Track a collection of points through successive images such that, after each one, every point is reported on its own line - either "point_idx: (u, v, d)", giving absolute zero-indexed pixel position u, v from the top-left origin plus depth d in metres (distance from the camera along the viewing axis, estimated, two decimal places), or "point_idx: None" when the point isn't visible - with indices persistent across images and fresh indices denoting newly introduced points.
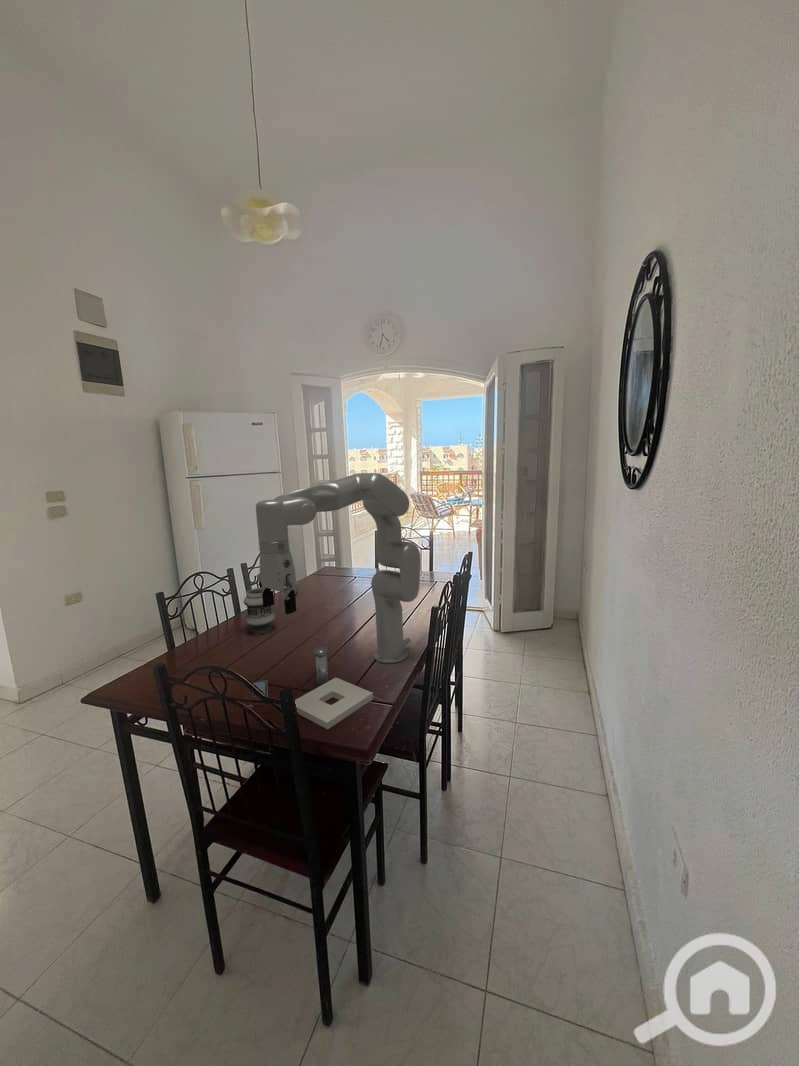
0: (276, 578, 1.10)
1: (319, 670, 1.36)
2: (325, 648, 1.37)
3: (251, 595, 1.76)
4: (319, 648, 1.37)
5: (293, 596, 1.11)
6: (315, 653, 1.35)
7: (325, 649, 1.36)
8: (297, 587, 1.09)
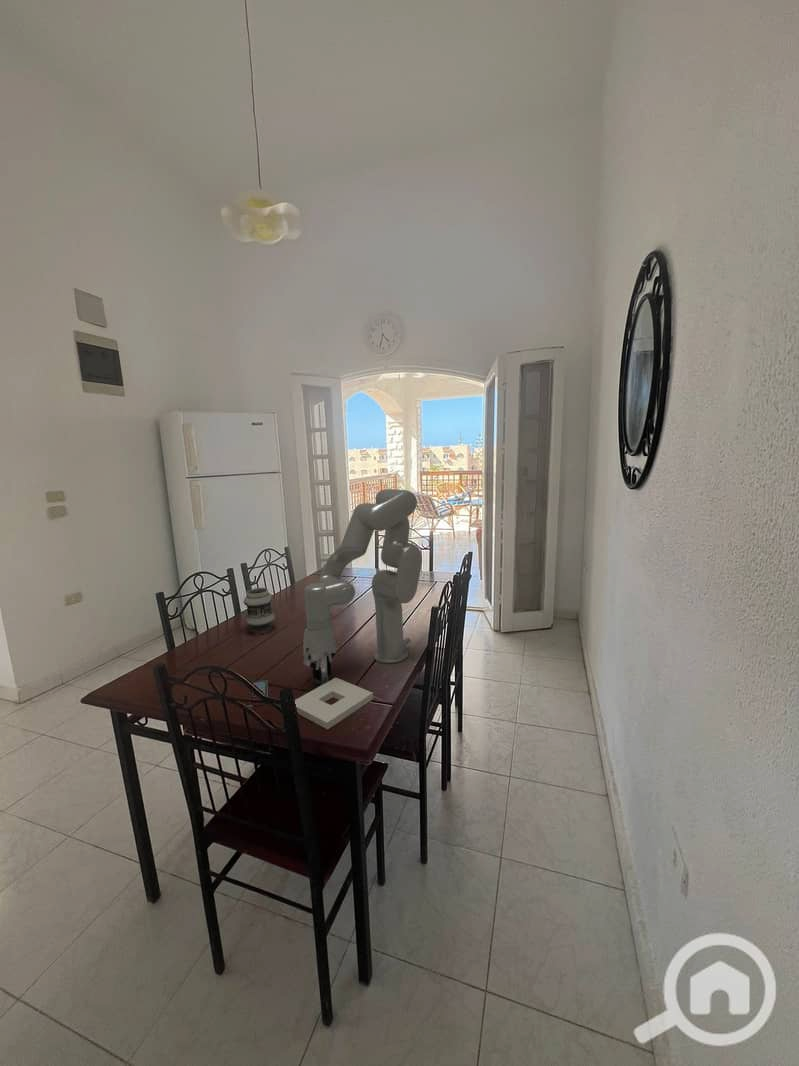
0: (332, 643, 1.37)
1: None
2: None
3: (251, 595, 1.76)
4: None
5: None
6: None
7: None
8: None
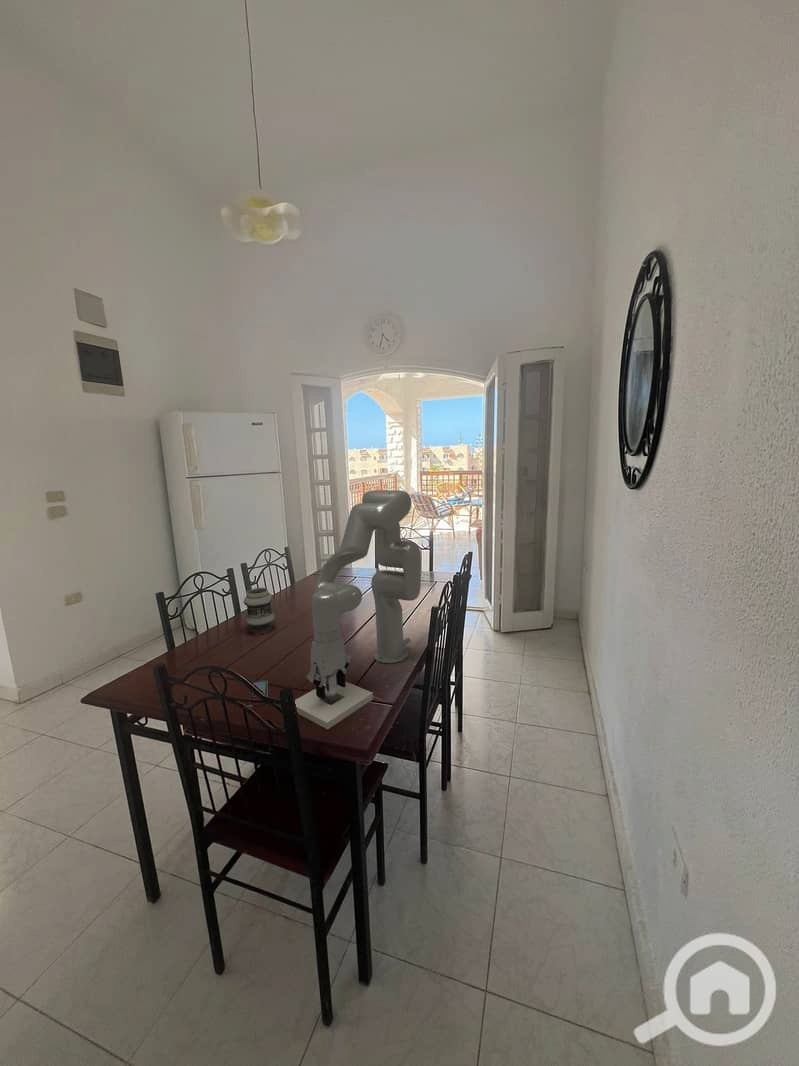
0: (342, 656, 1.24)
1: (327, 692, 1.23)
2: None
3: (251, 595, 1.76)
4: None
5: None
6: None
7: None
8: None
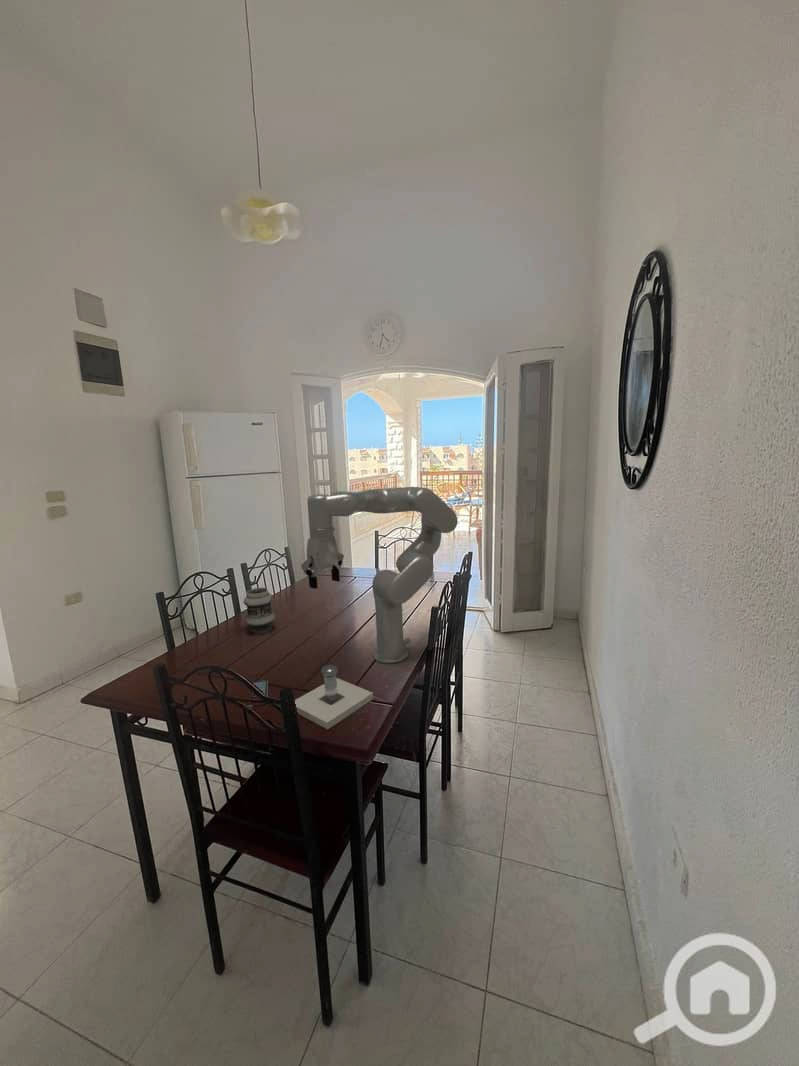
0: (334, 554, 1.40)
1: (327, 691, 1.23)
2: (334, 667, 1.24)
3: (251, 595, 1.76)
4: (328, 667, 1.24)
5: None
6: (323, 673, 1.22)
7: (334, 668, 1.23)
8: None
